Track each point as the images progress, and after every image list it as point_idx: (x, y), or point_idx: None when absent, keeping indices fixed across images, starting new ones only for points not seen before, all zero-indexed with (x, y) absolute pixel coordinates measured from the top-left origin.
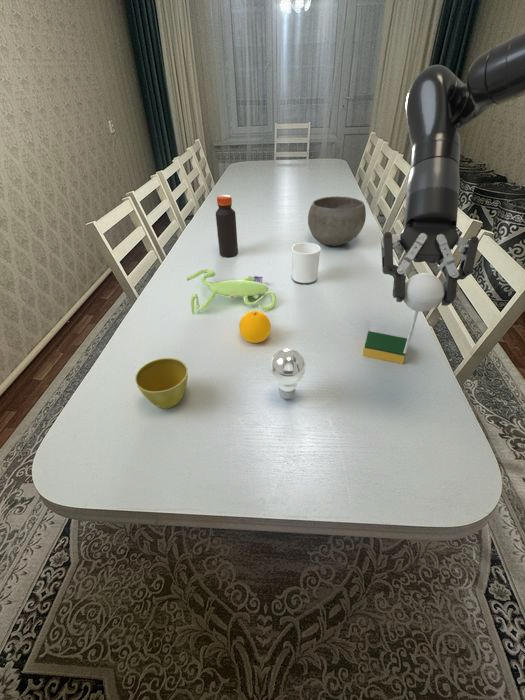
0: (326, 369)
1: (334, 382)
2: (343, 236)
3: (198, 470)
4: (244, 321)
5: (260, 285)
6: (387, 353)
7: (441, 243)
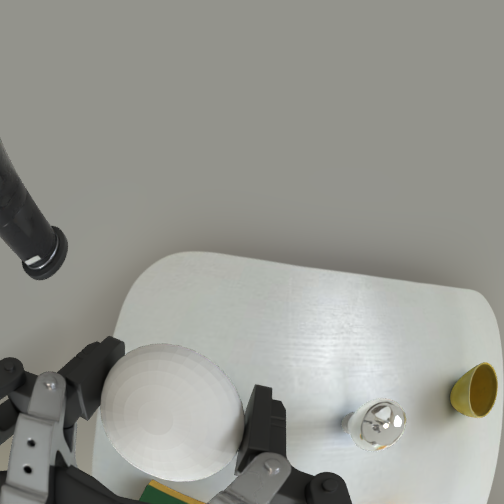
0: None
1: None
2: None
3: (419, 316)
4: None
5: None
6: (175, 496)
7: (31, 499)
